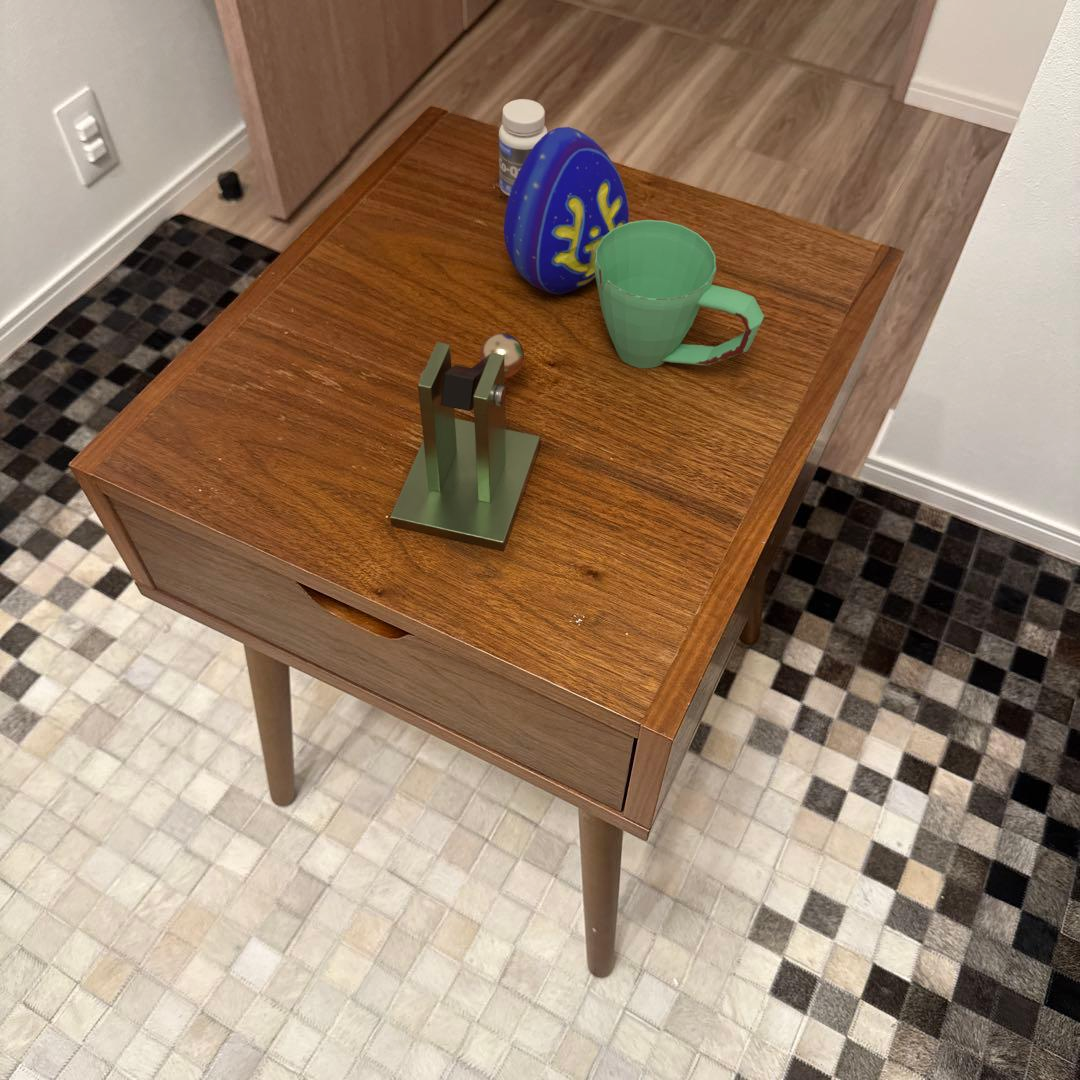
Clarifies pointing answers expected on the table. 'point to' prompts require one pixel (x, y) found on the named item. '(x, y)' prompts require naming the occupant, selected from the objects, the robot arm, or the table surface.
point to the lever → (480, 371)
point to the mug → (665, 294)
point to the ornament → (562, 210)
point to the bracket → (466, 462)
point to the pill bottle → (518, 138)
